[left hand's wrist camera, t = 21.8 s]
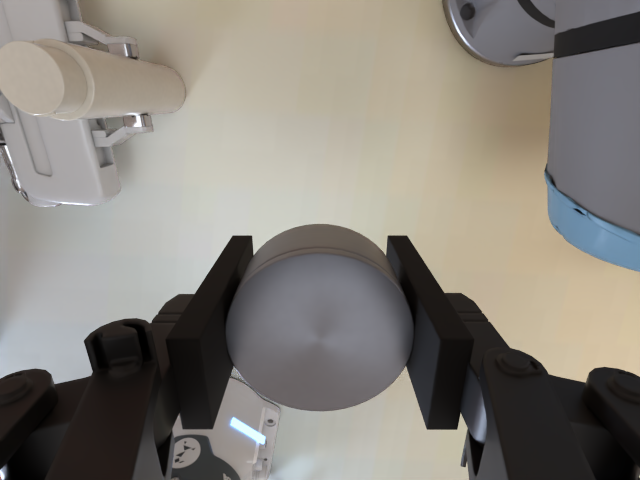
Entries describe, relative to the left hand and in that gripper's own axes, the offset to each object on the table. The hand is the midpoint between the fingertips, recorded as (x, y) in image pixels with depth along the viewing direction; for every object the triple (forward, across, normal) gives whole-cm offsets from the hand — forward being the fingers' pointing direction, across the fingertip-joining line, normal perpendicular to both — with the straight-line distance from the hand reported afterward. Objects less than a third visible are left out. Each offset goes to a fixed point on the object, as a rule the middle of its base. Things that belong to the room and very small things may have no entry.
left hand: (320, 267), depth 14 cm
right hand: (+20, +15, -8) cm, 26 cm away
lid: (-4, 0, 0) cm, 4 cm away
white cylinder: (+27, +16, -7) cm, 32 cm away
